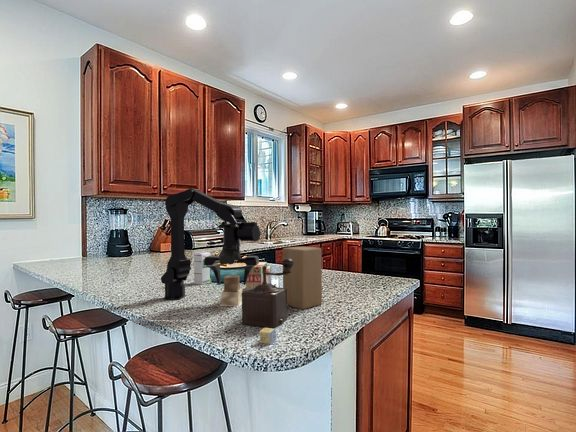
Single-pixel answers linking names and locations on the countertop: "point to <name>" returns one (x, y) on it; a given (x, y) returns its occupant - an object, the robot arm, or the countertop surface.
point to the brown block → (231, 283)
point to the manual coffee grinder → (266, 302)
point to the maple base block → (231, 298)
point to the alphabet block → (267, 335)
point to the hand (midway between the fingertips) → (231, 284)
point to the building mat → (231, 305)
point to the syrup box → (201, 269)
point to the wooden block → (303, 277)
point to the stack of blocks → (257, 276)
